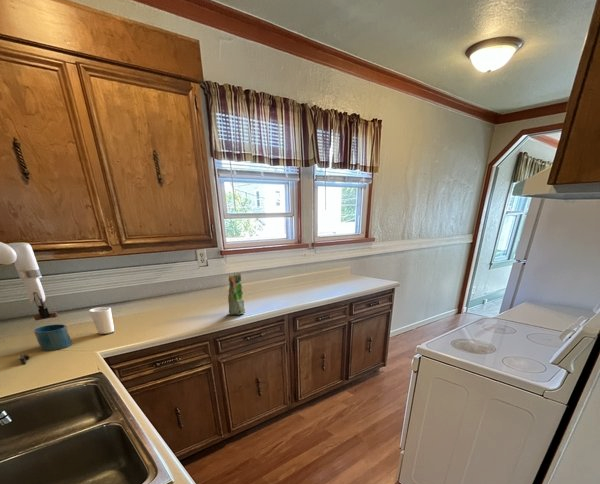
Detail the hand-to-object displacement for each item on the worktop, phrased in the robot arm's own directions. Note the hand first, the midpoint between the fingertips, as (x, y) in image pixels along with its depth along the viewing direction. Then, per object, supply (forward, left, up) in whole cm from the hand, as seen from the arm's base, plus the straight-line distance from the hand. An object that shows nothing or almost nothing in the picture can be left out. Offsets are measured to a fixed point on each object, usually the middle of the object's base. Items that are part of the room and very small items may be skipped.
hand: (45, 317), depth 146 cm
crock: (0, +4, -15) cm, 16 cm away
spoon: (0, 0, -1) cm, 1 cm away
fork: (-11, -10, -15) cm, 21 cm away
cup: (+22, +14, -15) cm, 30 cm away
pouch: (+96, +12, -15) cm, 98 cm away
